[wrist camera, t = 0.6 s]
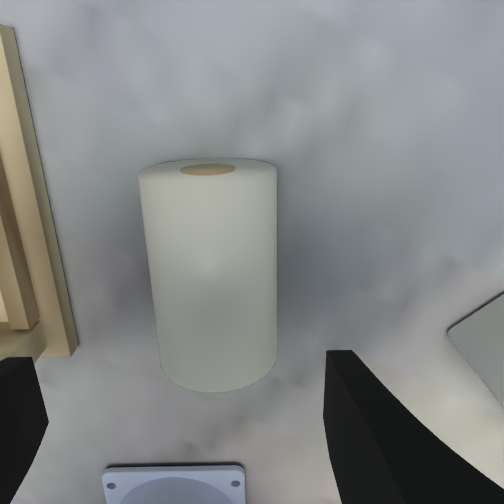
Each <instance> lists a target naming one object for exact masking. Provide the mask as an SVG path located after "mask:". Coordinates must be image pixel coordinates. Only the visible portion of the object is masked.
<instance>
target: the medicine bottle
mask: <svg viewBox="0 0 504 504" xmlns="http://www.w3.org/2000/svg"><path fill="white" fill-rule="evenodd" d="M448 335H449V338H450V340H451V341H452V342H453V344H454V345H455V346H456V348H457V349H458V350H459V352H460V353H461V354H462V355H463V357H464V358H465V359H466V361H467V362H468V363H469V365H470V366H471V367H472V368H473V370H474V371H475V372H476V374H477V375H478V376H479V377H480V379H481V380H482V381H483V383H484V384H485V385H486V387H487V388H488V389H489V390H490V392H491V393H492V394H493V396H494V397H495V398H496V400H497V401H498V402H499V403H500V405H501V406H502V407H503V409H504V294H503V295H501V296H499V297H498V298H496V299H495V300H493V301H492V302H490V303H489V304H487V305H486V306H484V307H483V308H481V309H480V310H478V311H477V312H475V313H473V314H472V315H470V316H469V317H467V318H466V319H464V320H463V321H461V322H460V323H458V324H457V325H455V326H454V327H452V328H451V329H450V330H449V332H448Z"/></svg>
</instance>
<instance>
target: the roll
mask: <svg viewBox="0 0 504 504" xmlns="http://www.w3.org/2000/svg"><path fill="white" fill-rule="evenodd" d="M138 182H139V190H140V198H141V207H142V215H143V223H144V231H145V239H146V247H147V256H148V264H149V272H150V280H151V288H152V296H153V304H154V313H155V321H156V329H157V337H158V345H159V353H160V361H161V367H162V370H163V372H164V374H165V375H166V376H167V377H168V378H169V379H170V380H171V381H172V382H173V383H175V384H177V385H179V386H180V387H183V388H186V389H189V390H192V391H197V392H205V393H221V392H229V391H234V390H238V389H241V388H245V387H247V386H249V385H252V384H254V383H255V382H257V381H259V380H260V379H262V378H263V377H264V376H266V375H267V374H268V373H269V372H270V370H271V369H272V368H273V366H274V364H275V361H276V356H277V168H276V167H275V166H274V165H272V164H270V163H267V162H263V161H257V160H250V159H237V158H215V159H190V160H180V161H173V162H167V163H162V164H157V165H153V166H150V167H147V168H145V169H142V170H141V171H139V172H138Z"/></svg>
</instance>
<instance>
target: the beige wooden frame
mask: <svg viewBox="0 0 504 504" xmlns="http://www.w3.org/2000/svg"><path fill="white" fill-rule="evenodd" d="M77 347H78V340H77V335H76V330H75V325H74V320H73V316H72V311H71V306H70V301H69V296H68V291H67V287H66V282H65V277H64V272H63V267H62V262H61V257H60V253H59V248H58V243H57V238H56V233H55V228H54V224H53V219H52V214H51V209H50V204H49V199H48V195H47V190H46V185H45V180H44V175H43V170H42V165H41V161H40V156H39V151H38V146H37V141H36V136H35V132H34V127H33V122H32V117H31V112H30V107H29V103H28V98H27V93H26V88H25V83H24V78H23V73H22V69H21V64H20V59H19V54H18V49H17V44H16V40H15V35H14V30H13V27H8V26H4V25H0V361H1V360H3V359H5V358H7V357H32V359H33V363H35V362H36V361H37V359H38V358H51V357H71V356H72V354H73V353H74V351H75V350H76V348H77Z"/></svg>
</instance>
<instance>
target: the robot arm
mask: <svg viewBox="0 0 504 504" xmlns="http://www.w3.org/2000/svg"><path fill="white" fill-rule="evenodd" d="M323 419H324V426H325V432H326V439H327V445H328V451H329V457H330V461H331V465H332V468H333V472H334V476H335V480H336V483H337V487H338V491H339V494H340V498H341V502H342V504H504V489H503V488H501V487H500V486H499V485H497V484H496V483H495V482H493V481H492V480H490V479H489V478H488V477H486V476H485V475H484V474H482V473H481V472H480V471H478V470H477V469H476V468H475V467H473V466H472V465H471V464H470V463H468V462H467V461H466V460H464V459H463V458H462V457H461V456H459V455H458V454H457V453H455V452H454V451H453V450H452V449H451V448H449V447H448V446H447V445H446V444H445V443H443V442H442V441H441V440H440V439H439V438H438V437H437V436H435V435H434V434H433V433H432V432H431V431H430V430H429V429H428V428H427V427H425V426H424V425H423V424H422V423H421V422H420V421H419V420H418V419H417V418H416V417H415V416H414V415H413V414H412V413H411V412H410V411H409V410H408V409H407V408H406V407H405V406H404V405H403V404H402V403H401V402H400V401H399V400H398V399H397V398H396V397H395V396H394V395H393V394H392V393H391V392H390V391H389V390H388V389H387V388H386V387H385V386H384V385H383V384H382V383H381V382H380V381H379V379H378V378H377V377H376V376H375V375H374V374H373V373H372V372H371V371H370V370H369V368H368V367H367V366H366V365H365V364H364V363H363V362H362V361H361V359H360V358H359V357H358V356H357V355H356V354H355V353H354V352H353V351H352V350H329V351H326V371H325V390H324V410H323ZM48 423H49V421H48V417H47V413H46V409H45V405H44V401H43V397H42V393H41V390H40V386H39V382H38V378H37V374H36V370H35V366H34V363H33V359H32V357H7V358H5V359H3V360H1V361H0V504H10V503H11V501H12V499H13V497H14V496H15V494H16V492H17V490H18V488H19V486H20V485H21V483H22V481H23V479H24V477H25V476H26V474H27V472H28V470H29V468H30V466H31V465H32V463H33V460H34V458H35V456H36V453H37V451H38V449H39V446H40V444H41V441H42V439H43V436H44V434H45V431H46V428H47V426H48ZM101 480H102V484H103V489H104V494H105V498H106V503H107V504H246V500H245V474H244V469H243V468H242V467H240V466H237V465H226V466H171V467H117V468H107V469H105V470H104V472H103V474H102V477H101ZM235 480H237V481H235Z"/></svg>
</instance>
